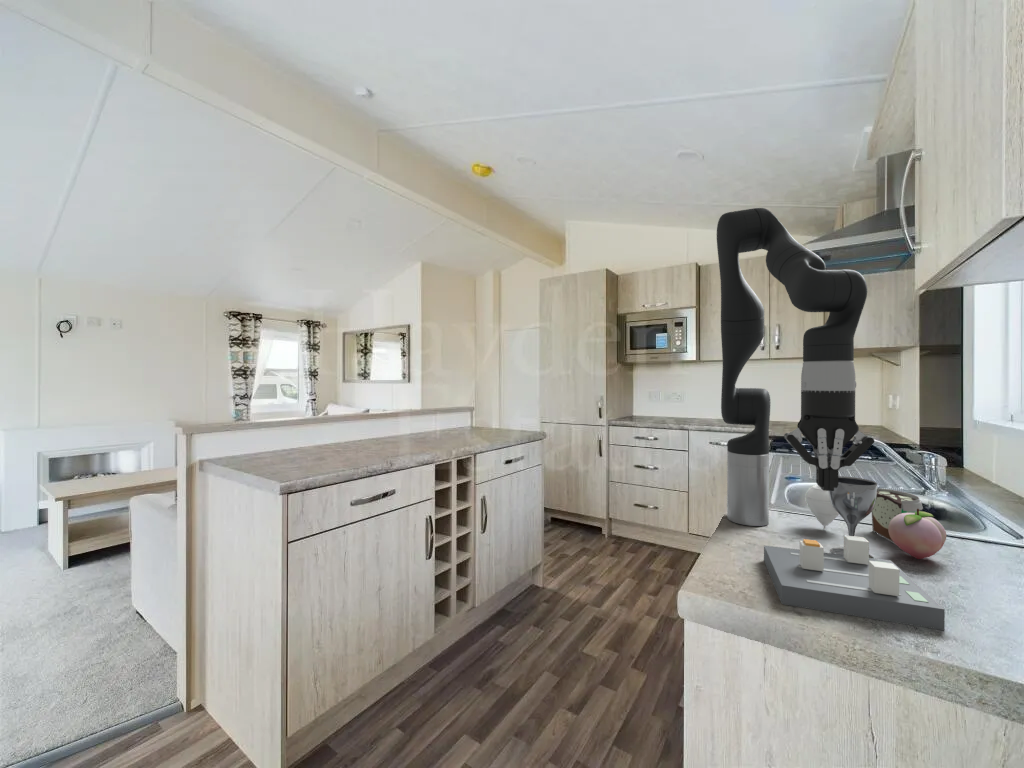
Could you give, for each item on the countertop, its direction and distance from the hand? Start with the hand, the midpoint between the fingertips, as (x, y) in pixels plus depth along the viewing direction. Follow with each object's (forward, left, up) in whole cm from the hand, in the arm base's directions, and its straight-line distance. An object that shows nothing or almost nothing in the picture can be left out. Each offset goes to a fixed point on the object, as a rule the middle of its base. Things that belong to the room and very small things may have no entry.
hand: (826, 489), depth 75 cm
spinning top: (-34, +8, -17) cm, 39 cm away
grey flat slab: (0, +2, -17) cm, 17 cm away
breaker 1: (-6, +6, -14) cm, 16 cm away
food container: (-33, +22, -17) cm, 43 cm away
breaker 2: (+6, +6, -14) cm, 16 cm away
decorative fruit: (-21, +20, -17) cm, 33 cm away
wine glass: (-19, +9, -17) cm, 27 cm away
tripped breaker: (0, -2, -14) cm, 14 cm away
